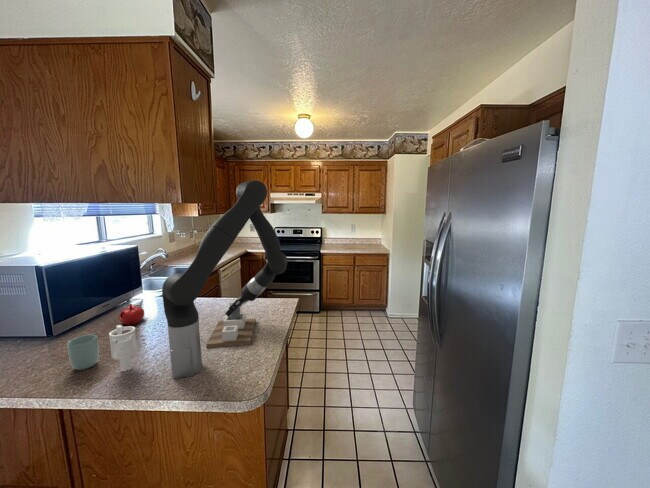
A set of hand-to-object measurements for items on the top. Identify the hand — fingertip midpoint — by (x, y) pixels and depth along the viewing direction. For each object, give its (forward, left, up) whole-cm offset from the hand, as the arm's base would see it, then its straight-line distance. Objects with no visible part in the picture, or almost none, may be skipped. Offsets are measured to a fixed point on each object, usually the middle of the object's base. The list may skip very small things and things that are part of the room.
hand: (232, 311), depth 121 cm
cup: (-22, +46, -8) cm, 52 cm away
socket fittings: (-6, -1, -7) cm, 9 cm away
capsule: (0, -1, -7) cm, 7 cm away
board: (-5, -1, -8) cm, 10 cm away
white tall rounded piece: (-26, +31, -8) cm, 41 cm away
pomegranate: (+16, +50, -8) cm, 53 cm away
